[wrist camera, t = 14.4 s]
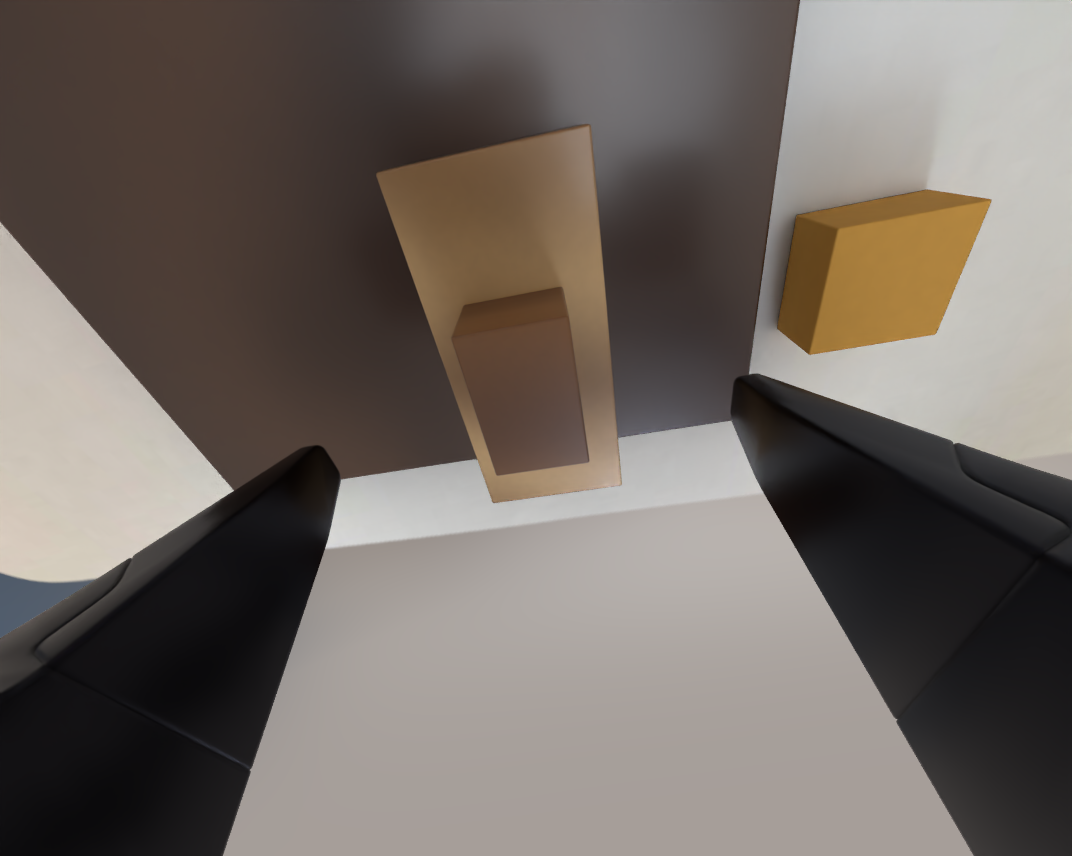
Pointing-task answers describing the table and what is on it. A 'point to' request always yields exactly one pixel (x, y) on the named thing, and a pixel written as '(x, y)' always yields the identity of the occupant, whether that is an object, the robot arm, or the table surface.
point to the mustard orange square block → (876, 269)
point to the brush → (517, 305)
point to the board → (379, 197)
